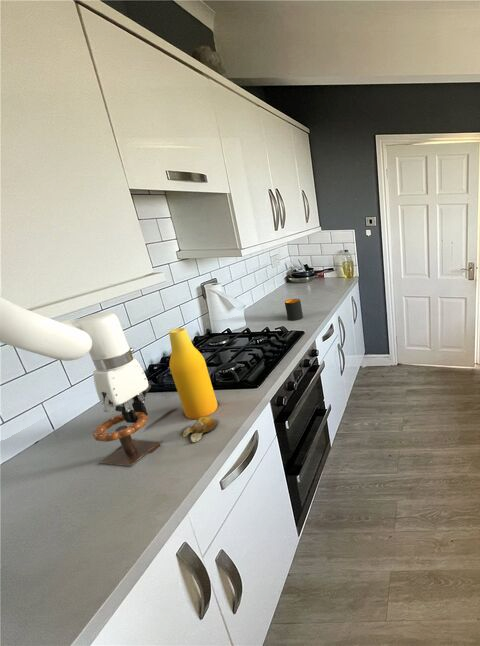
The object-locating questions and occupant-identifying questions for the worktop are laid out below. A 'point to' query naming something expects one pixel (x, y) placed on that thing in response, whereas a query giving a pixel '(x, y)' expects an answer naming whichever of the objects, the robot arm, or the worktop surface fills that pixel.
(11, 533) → the worktop surface
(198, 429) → the fruit
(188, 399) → the beer bottle
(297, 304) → the mug
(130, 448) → the brown peg stand
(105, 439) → the ring
